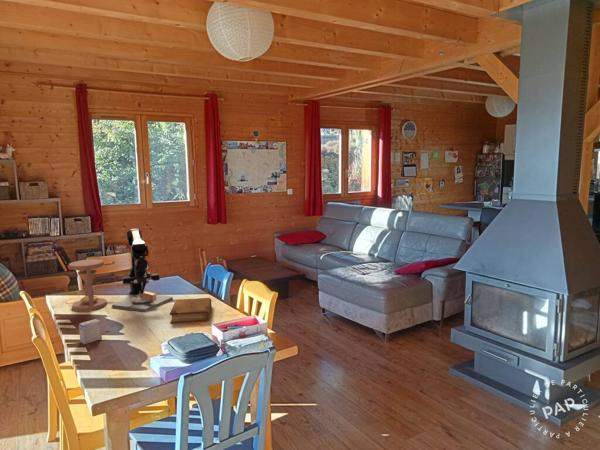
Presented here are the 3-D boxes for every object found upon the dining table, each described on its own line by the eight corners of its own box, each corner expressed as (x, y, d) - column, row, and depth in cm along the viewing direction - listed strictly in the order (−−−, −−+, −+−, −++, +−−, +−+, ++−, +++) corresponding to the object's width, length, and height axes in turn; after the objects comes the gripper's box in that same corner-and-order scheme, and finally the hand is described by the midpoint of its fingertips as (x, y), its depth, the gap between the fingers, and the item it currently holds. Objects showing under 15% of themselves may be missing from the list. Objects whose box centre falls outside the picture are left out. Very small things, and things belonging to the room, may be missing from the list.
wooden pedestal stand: (106, 308, 240) (102, 264, 236) (70, 313, 234) (66, 267, 230) (107, 299, 256) (104, 258, 253) (74, 303, 250) (70, 260, 246)
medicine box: (97, 336, 201) (96, 318, 199) (102, 339, 198) (100, 320, 197) (79, 342, 195) (78, 323, 193) (84, 344, 192) (83, 325, 191)
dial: (127, 301, 247) (126, 292, 247) (146, 295, 257) (145, 287, 256) (145, 306, 237) (144, 297, 236) (163, 300, 247) (163, 291, 246)
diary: (209, 322, 218) (208, 310, 218) (170, 324, 216) (169, 313, 215) (211, 307, 241) (211, 297, 240) (176, 309, 238) (176, 299, 237)
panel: (112, 307, 242) (111, 303, 242) (141, 295, 263) (140, 292, 263) (145, 311, 234) (145, 308, 234) (172, 299, 255) (172, 295, 255)
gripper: (122, 270, 226) (124, 300, 228) (159, 267, 234) (161, 295, 236) (121, 266, 236) (123, 294, 238) (157, 263, 244) (159, 290, 246)
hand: (142, 293), depth 239 cm, fingers closed
